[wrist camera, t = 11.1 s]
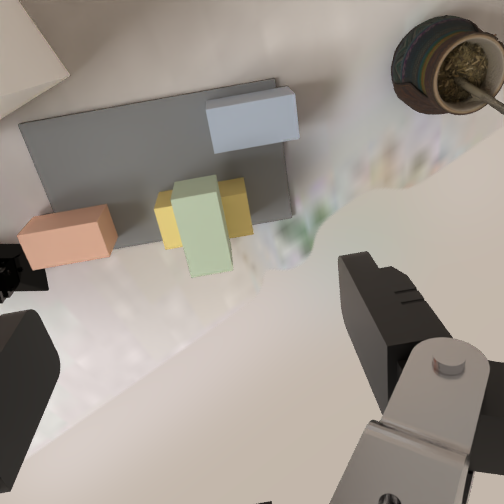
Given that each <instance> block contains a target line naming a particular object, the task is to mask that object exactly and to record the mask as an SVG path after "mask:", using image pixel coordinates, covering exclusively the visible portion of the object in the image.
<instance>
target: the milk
mask: <svg viewBox="0 0 504 504" xmlns="http://www.w3.org/2000/svg"><path fill="white" fill-rule="evenodd" d="M69 76H71V75H70V74H69V72H68V71H67V70H66V68H65V67H64V65H63V64H62V62H61V61H60V60H59V58H58V57H57V55H56V54H55V52H54V51H53V49H52V48H51V47H50V45H49V44H48V42H47V41H46V39H45V38H44V37H43V35H42V34H41V32H40V31H39V29H38V28H37V26H36V25H35V24H34V22H33V21H32V19H31V18H30V16H29V15H28V13H27V12H26V11H25V9H24V8H23V6H22V5H21V3H20V2H19V1H18V0H0V119H2V118H3V117H5V116H7V115H8V114H10V113H11V112H13V111H15V110H16V109H18V108H19V107H21V106H23V105H24V104H26V103H27V102H29V101H31V100H32V99H34V98H35V97H37V96H39V95H40V94H42V93H43V92H45V91H47V90H48V89H50V88H51V87H53V86H55V85H56V84H58V83H59V82H61V81H63V80H64V79H66V78H67V77H69Z"/></svg>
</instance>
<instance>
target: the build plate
mask: <svg viewBox="0 0 504 504" xmlns="http://www.w3.org/2000/svg"><path fill="white" fill-rule="evenodd" d="M48 290H49V287H48V282H47V277H46V272H45V268H43V269H38V270H32V268H31V266H30V263H29V261H28V259H27V257H26V255H25V253H24V251H23V249H22V246H21V244H0V303H3V302H4V300H5V299H6V298H10V297H11V295H12V294H13V292H14V291H48Z"/></svg>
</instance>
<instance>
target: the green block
mask: <svg viewBox="0 0 504 504" xmlns="http://www.w3.org/2000/svg"><path fill="white" fill-rule="evenodd" d="M171 204H172V208H173V211H174V215H175V219H176V223H177V226H178V230H179V234H180V237H181V241H182V245H183V249H184V252H185V256H186V260H187V263H188V267H189V271H190V275H191V278H193V277H199V276H205V275H210V274H216V273H221V272H227V271H233V262H232V249H231V243H230V239H229V234H228V229H227V224H226V219H225V215H224V210H223V205H222V200H221V196H220V191H219V186H218V181H217V176H216V175H210V176H204V177H199V178H193V179H188V180H182V181H177V182H174V186H173V191H172V195H171Z"/></svg>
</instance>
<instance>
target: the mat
mask: <svg viewBox="0 0 504 504" xmlns="http://www.w3.org/2000/svg"><path fill="white" fill-rule="evenodd" d="M274 88H276V85H275V79H274V78H272V79H267V80H261V81H256V82H250V83H245V84H239V85H233V86H228V87H222V88H217V89H211V90H205V91H200V92H194V93H189V94H183V95H177V96H172V97H166V98H161V99H155V100H150V101H144V102H138V103H133V104H127V105H122V106H116V107H110V108H105V109H99V110H94V111H88V112H82V113H77V114H71V115H66V116H60V117H55V118H49V119H43V120H38V121H32V122H27V123H21V124H18V126H19V129H20V131H21V133H22V136H23V138H24V141H25V143H26V146H27V148H28V151H29V153H30V155H31V158H32V160H33V163H34V165H35V168H36V170H37V172H38V175H39V177H40V180H41V182H42V185H43V187H44V189H45V192H46V194H47V197H48V199H49V202H50V204H51V207H52V209H53V211H54V213H58V212H63V211H69V210H75V209H80V208H86V207H92V206H97V205H103V204H107V206H108V209H109V212H110V215H111V218H112V220H113V223H114V226H115V229H116V232H117V235H118V238H117V241H116V243H115V245H114V248H113V249H119V248H124V247H130V246H136V245H141V244H147V243H153V242H158V241H163V239H162V236H161V232H160V229H159V225H158V222H157V219H156V215H155V212H154V207H155V203H156V200H157V197H158V193H159V192H163V191H169V190H173V186H174V182H177V181H182V180H188V179H193V178H199V177H204V176H210V175H216V176H217V181H218V182H219V181H225V180H231V179H236V178H242V177H244V182H245V188H246V193H247V199H248V205H249V210H250V216H251V222H252V225H255V224H260V223H266V222H272V221H277V220H283V219H289V218H292V213H291V205H290V197H289V189H288V181H287V173H286V165H285V157H284V149H283V142H278V143H273V144H267V145H262V146H256V147H250V148H245V149H239V150H233V151H228V152H222V153H217V154H214V149H213V144H212V139H211V134H210V129H209V124H208V119H207V114H206V101H207V100H212V99H218V98H223V97H229V96H235V95H240V94H246V93H251V92H257V91H263V90H268V89H274Z"/></svg>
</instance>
